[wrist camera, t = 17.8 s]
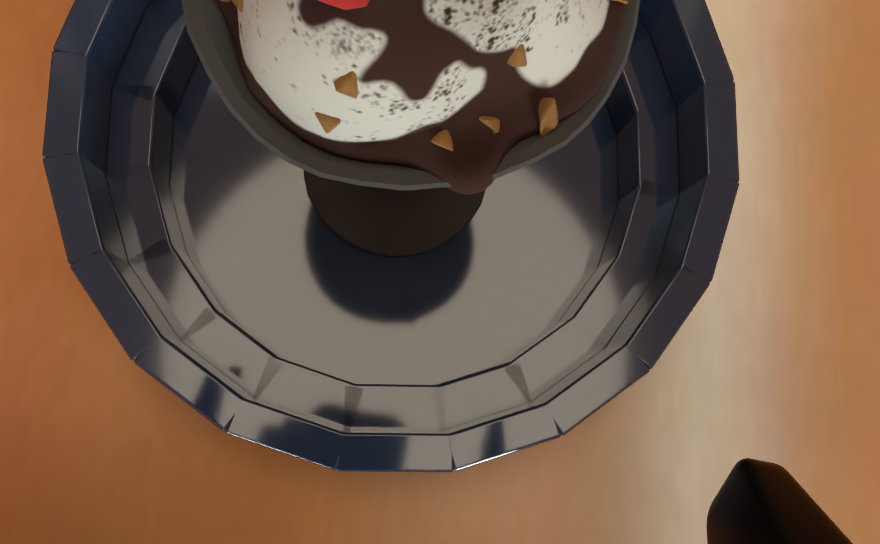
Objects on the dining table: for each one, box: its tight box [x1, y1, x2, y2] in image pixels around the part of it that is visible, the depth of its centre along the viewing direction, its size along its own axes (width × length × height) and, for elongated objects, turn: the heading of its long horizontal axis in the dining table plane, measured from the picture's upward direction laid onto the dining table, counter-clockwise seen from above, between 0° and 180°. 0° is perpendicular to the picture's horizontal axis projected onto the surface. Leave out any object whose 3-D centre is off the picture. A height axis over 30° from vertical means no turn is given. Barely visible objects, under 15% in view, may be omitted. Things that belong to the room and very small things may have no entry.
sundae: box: [181, 0, 640, 257], centre depth 14 cm, size 7×7×15 cm
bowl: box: [43, 0, 739, 472], centre depth 20 cm, size 16×16×4 cm
